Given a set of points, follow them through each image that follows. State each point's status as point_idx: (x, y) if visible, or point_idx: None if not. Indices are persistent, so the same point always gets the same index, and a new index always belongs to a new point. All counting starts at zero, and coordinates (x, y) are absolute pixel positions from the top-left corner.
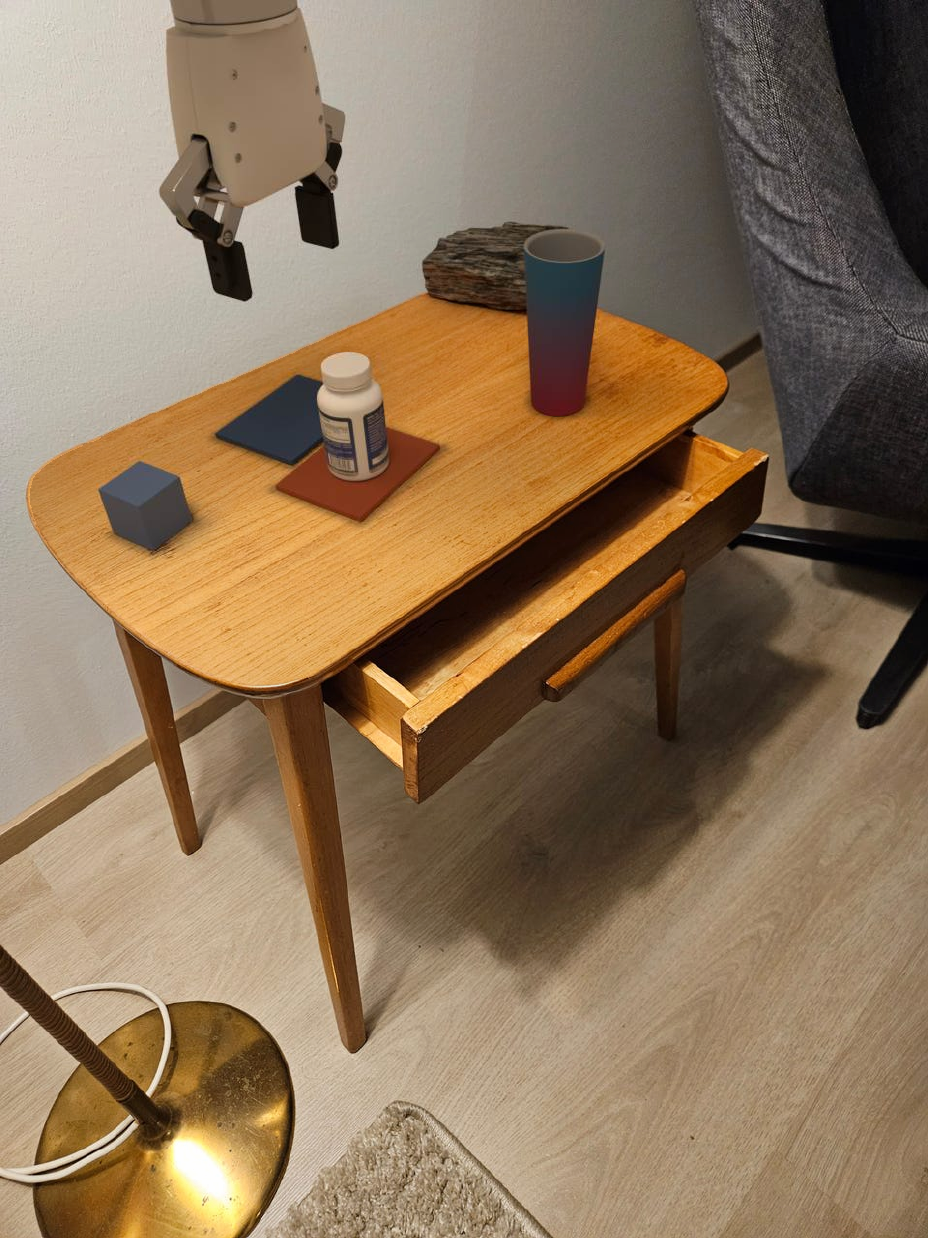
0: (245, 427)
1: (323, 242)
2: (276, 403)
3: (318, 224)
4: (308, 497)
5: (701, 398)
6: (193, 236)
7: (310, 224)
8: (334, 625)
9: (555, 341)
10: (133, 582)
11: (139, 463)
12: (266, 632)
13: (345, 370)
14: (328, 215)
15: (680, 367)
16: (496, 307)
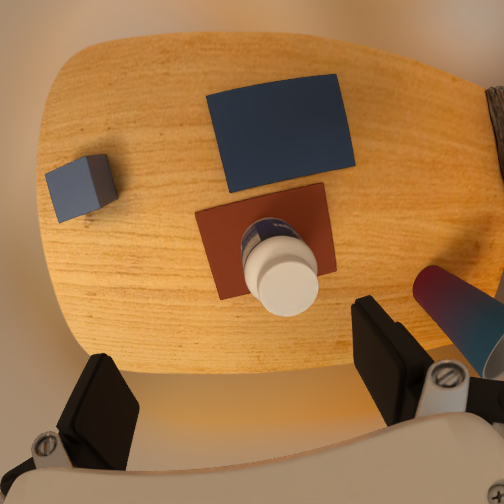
0: (234, 109)
1: (356, 353)
2: (285, 98)
3: (368, 370)
4: (205, 250)
5: None
6: (37, 438)
7: (367, 351)
8: (144, 356)
9: (445, 331)
10: (58, 233)
11: (83, 161)
12: (109, 334)
13: (278, 301)
14: (377, 405)
15: None
16: (498, 154)
